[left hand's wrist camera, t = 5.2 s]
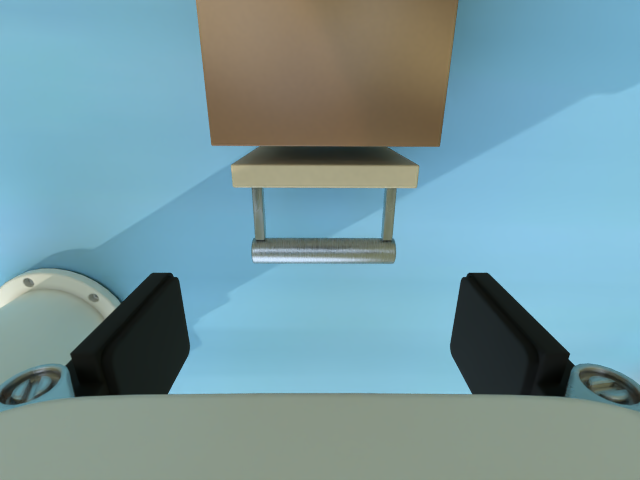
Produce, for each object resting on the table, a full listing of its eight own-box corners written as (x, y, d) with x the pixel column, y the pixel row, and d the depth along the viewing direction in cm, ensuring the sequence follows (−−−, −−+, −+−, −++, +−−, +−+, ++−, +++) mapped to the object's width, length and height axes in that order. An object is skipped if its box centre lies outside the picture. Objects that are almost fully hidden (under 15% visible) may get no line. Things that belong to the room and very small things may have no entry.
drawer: (380, 229, 28) (407, 282, 20) (264, 229, 28) (241, 282, 20) (407, -141, 20) (473, -327, 11) (243, -142, 20) (186, -330, 11)
